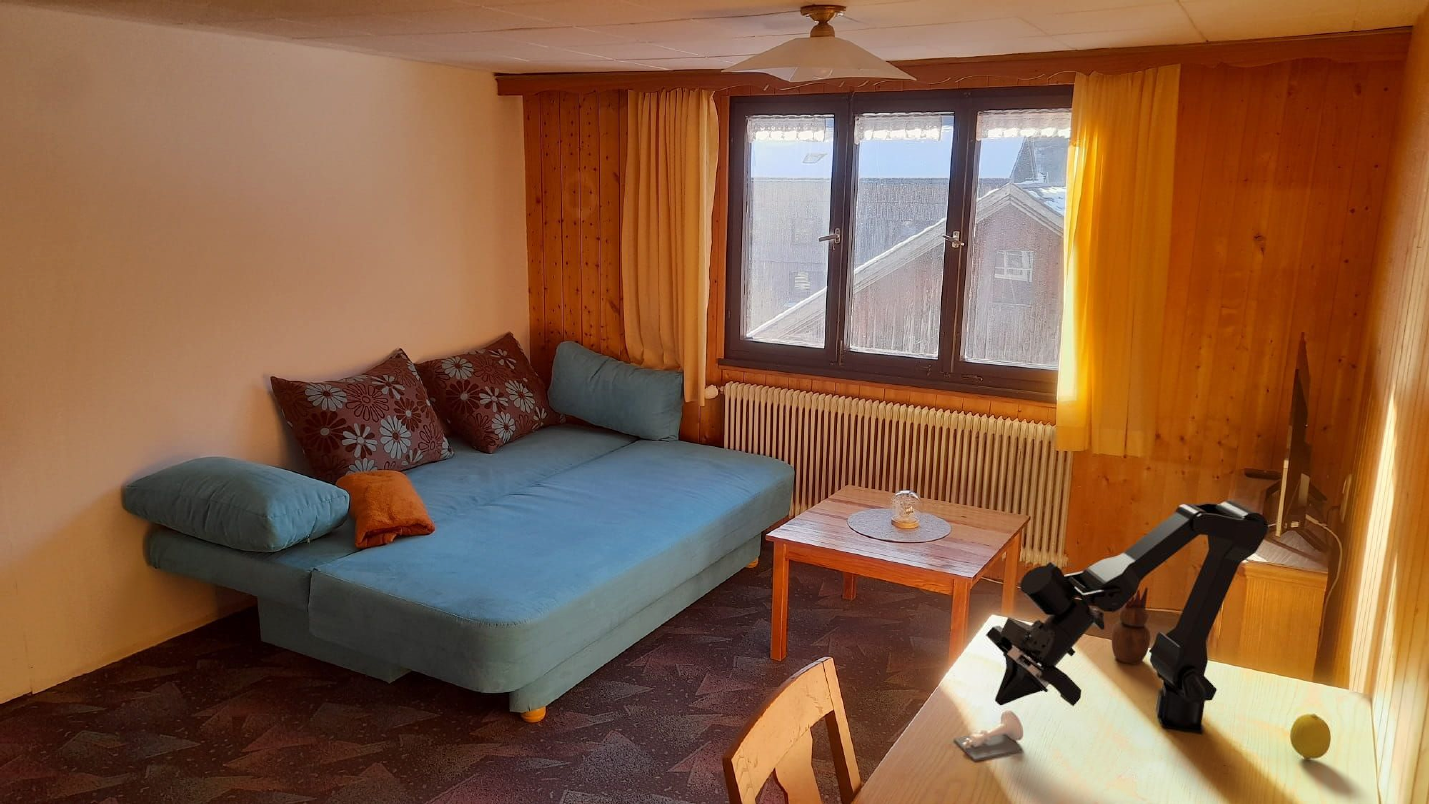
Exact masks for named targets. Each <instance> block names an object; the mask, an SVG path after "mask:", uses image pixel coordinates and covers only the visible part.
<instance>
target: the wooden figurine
mask: <svg viewBox="0 0 1429 804" xmlns="http://www.w3.org/2000/svg"><path fill="white" fill-rule="evenodd" d="M1148 589H1149V588H1148V587H1145V589H1144V591H1143V592H1142V595H1140V594H1141V593H1140V589H1137V592H1136V594H1135V595H1134V596H1133V597H1132V598H1131V599H1130V600H1129V601H1128V602H1127V603H1126V604H1125V605H1124V606H1123V607H1122V608H1121V609H1119V612H1118V613H1119V620H1118V621H1117V622H1116V623H1114V624H1113V626H1112V628H1111V639H1110V640H1111V648H1112V654H1113V655H1114V657H1115V658H1116V659H1117V660H1118V661H1120V662H1123V663H1125V664H1133V665H1134V664H1140V663H1141V662H1143V660H1144V659H1145V658H1146V656H1147V653H1148V652H1149V648H1150V642H1151V637H1152V636H1151V631H1150V629H1149V628H1148V626H1147V625H1146V623H1147V622H1148V619H1149V618H1148V617H1149V613H1148V610H1147V609H1146V605H1147V598H1148V597H1147V596H1148Z"/></svg>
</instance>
